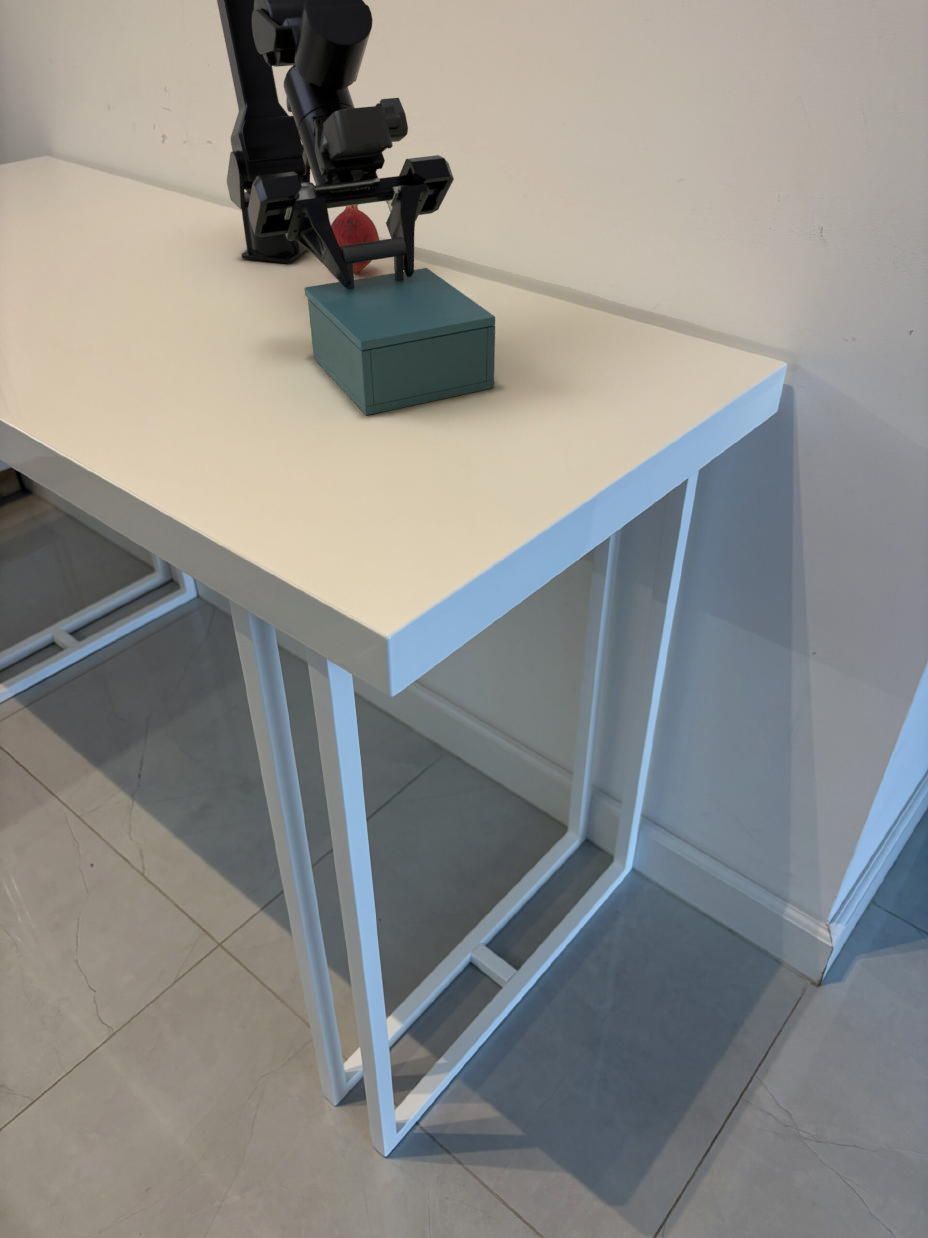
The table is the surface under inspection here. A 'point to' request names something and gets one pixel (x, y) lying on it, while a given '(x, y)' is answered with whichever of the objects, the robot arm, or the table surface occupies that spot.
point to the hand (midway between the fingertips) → (379, 279)
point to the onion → (354, 231)
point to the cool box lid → (394, 301)
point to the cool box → (404, 365)
